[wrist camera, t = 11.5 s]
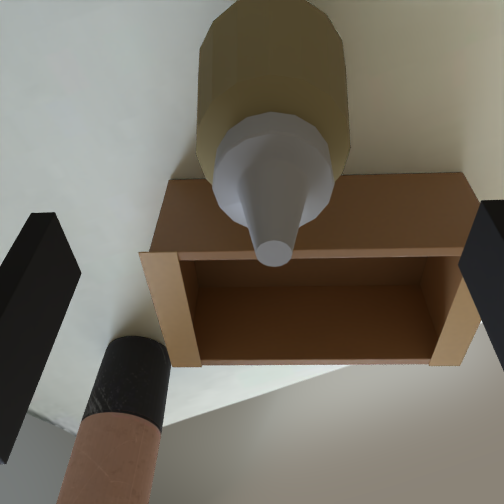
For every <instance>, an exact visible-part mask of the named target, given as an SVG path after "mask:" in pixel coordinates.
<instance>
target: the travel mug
mask: <svg viewBox="0 0 504 504" xmlns="http://www.w3.org/2000/svg"><path fill="white" fill-rule="evenodd" d="M170 369H171V361H170V358H169V354H168V351H167V348H166V347H164V346H163V345H162V344H160V343H158V342H156V341H154V340H152V339H148V338H144V337H137V336H128V337H122V338H118V339H116V340H114V341H113V342H111V343H110V344H109V346H108V347H107V349H106V352H105V355H104V357H103V360H102V363H101V366H100V369H99V372H98V375H97V377H96V380H95V383H94V386H93V389H92V392H91V395H90V398H89V400H88V403H87V406H86V409H85V412H84V415H83V418H82V421H81V424H80V427H79V430H78V433H77V437H76V440H75V443H74V447H73V450H72V454H71V457H70V460H69V464H68V467H67V470H66V473H65V477H64V480H63V483H62V487H61V490H60V493H59V497H58V500H57V503H56V504H148V503H149V498H150V492H151V487H152V482H153V476H154V470H155V465H156V460H157V455H158V449H159V444H160V438H161V432H162V425H163V418H164V411H165V404H166V397H167V390H168V383H169V376H170Z"/></svg>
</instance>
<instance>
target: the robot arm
mask: <svg viewBox="0 0 504 504" xmlns="http://www.w3.org/2000/svg"><path fill="white" fill-rule="evenodd" d="M458 267H459V269H460V272H461V274H462V276H463V278H464V281H465V283H466V285H467V288H468V290H469V292H470V295H471V297H472V299H473V302H474V304H475V306H476V308H477V311H478V313H479V315H480V318H481V320H482V322H483V325H484V327H485V329H486V331H487V334H488V336H489V338H490V341H491V343H492V345H493V348H494V350H495V352H496V354H497V357H498V359H499V361H500V363H501V366H502V368H503V370H504V200H481V203H480V206H479V208H478V211H477V214H476V216H475V219H474V222H473V225H472V227H471V230H470V233H469V235H468V238H467V241H466V244H465V246H464V249H463V252H462V254H461V257H460V260H459V263H458ZM80 276H81V271H80V268H79V266H78V264H77V261H76V259H75V257H74V255H73V252H72V250H71V248H70V245H69V243H68V241H67V239H66V236H65V234H64V232H63V229H62V227H61V225H60V223H59V220H58V218H57V216H56V213H55V212H50V213H31V214H30V216H29V218H28V219H27V221H26V223H25V225H24V226H23V228H22V230H21V231H20V233H19V235H18V237H17V238H16V240H15V242H14V243H13V245H12V247H11V249H10V250H9V252H8V254H7V256H6V257H5V259H4V261H3V262H2V264H1V266H0V464H6V463H7V461H8V458H9V456H10V453H11V451H12V448H13V446H14V443H15V440H16V438H17V435H18V433H19V430H20V428H21V425H22V423H23V420H24V418H25V415H26V413H27V410H28V408H29V405H30V402H31V400H32V397H33V395H34V392H35V390H36V387H37V385H38V382H39V380H40V377H41V375H42V372H43V370H44V367H45V365H46V362H47V359H48V357H49V354H50V352H51V349H52V347H53V344H54V342H55V339H56V337H57V334H58V332H59V329H60V327H61V324H62V321H63V319H64V316H65V314H66V311H67V309H68V306H69V304H70V301H71V299H72V296H73V294H74V291H75V289H76V286H77V284H78V281H79V278H80Z"/></svg>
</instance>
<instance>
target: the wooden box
mask: <svg viewBox="0 0 504 504" xmlns="http://www.w3.org/2000/svg"><path fill="white" fill-rule="evenodd" d="M479 206H480V203H479V201H478V199H477V197H476V195H475V194H474V192H473V190H472V188H471V186H470V185H469V183H468V181H467V179H466V177H465V176H464V174H463V173H462V172H456V173H417V174H378V175H340V177H339V178H338V179H337V180H336V181H335V185H334V188H333V191H332V194H331V198H330V201H329V203H328V205H327V206H326V207H325V208H324V209H323V210H322V211H321V212H320V214H319V215H318V216H317V217H316V218H315V219H313V220H312V221H310V222H308V223H306V224H304V225H302V226H300V227H299V229H298V233H297V237H296V241H295V245H294V249H293V252H292V256H291V259H290V260H289V261H288V262H287V263H286V264H284V265H282V266H277V267H271V266H266V265H264V264H262V263H261V262H260V261H259V260H258V259H257V257H256V254H255V250H254V247H253V243H252V240H251V236H250V233H249V229H248V228H247V227H245V226H243V225H241V224H239V223H237V222H234V221H233V220H232V219H231V218H230V217H229V216H228V215H227V214H226V213H225V212H224V211H223V210H222V209H221V208H220V207H219V205H218V202H217V200H216V197H215V195H214V192H213V189H212V185H211V184H210V183H209V181H208V180H207V179H183V180H169V182H168V185H167V189H166V193H165V196H164V200H163V203H162V207H161V211H160V214H159V218H158V221H157V225H156V229H155V232H154V236H153V239H152V243H151V247H150V250H149V252H139V257H140V260H141V263H142V267H143V270H144V273H145V277H146V280H147V283H148V287H149V290H150V294H151V297H152V300H153V304H154V307H155V310H156V314H157V317H158V321H159V324H160V327H161V331H162V334H163V337H164V341H165V344H166V347H167V351H168V354H169V358H170V361H171V364H172V367H202V365H364V364H365V365H370V364H373V365H374V364H429V366H460V364H461V362H462V360H463V358H464V356H465V354H466V352H467V349H468V348H469V345H470V343H471V341H472V339H473V337H474V335H475V332H476V330H477V328H478V326H479V324H480V322H481V318H480V315H479V313H478V311H477V308H476V306H475V304H474V302H473V299H472V297H471V295H470V292H469V290H468V288H467V285H466V283H465V281H464V278H463V276H462V274H461V272H460V269H459V267H458V263H459V260H460V257H461V254H462V252H463V249H464V246H465V244H466V241H467V238H468V235H469V233H470V230H471V227H472V225H473V222H474V219H475V216H476V214H477V211H478V208H479Z"/></svg>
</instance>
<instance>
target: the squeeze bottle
mask: <svg viewBox="0 0 504 504" xmlns="http://www.w3.org/2000/svg"><path fill="white" fill-rule="evenodd" d="M350 148H351V147H350V130H349V114H348V97H347V81H346V67H345V59H344V51H343V43H342V40H341V38H340V36H339V35H338V33H337V31H336V30H335V28H334V26H333V25H332V23H331V21H330V20H329V18H328V16H327V15H326V14H325V13H323V12H322V11H321V10H319V9H318V8H316V7H315V6H313V5H312V4H310V3H309V2H307V1H306V0H238V1H237V2H235V3H234V4H233V5H232V6H231V7H229V8H228V9H227V10H226V11H225V12H224V13H222V14H221V15H220V16H219V17H218V18H217V19H215V20H214V21H213V23H212V25H211V27H210V29H209V31H208V33H207V35H206V37H205V39H204V41H203V43H202V45H201V47H200V55H199V73H198V103H197V136H196V156H197V158H198V161H199V163H200V166H201V168H202V171H203V173H204V176H205V178H206V179H207V180H208V181H209V183H210V184H211V185H212V189H213V192H214V195H215V197H216V200H217V202H218V205H219V207H220V208H221V209H222V210H223V211H224V212H225V213H226V214H227V215H228V216H229V217H230V218H231V219H232V220H233V221H234V222H237V223H239V224H241V225H243V226H245V227H247V228H248V229H249V233H250V236H251V240H252V243H253V247H254V250H255V254H256V257H257V259H258V260H259V261H260V262H261V263H262V264H264V265H266V266H271V267H277V266H282V265H284V264H286V263H287V262H288V261H289V260H290V259H291V256H292V252H293V249H294V245H295V241H296V237H297V233H298V229H299V227H300V226H302V225H304V224H306V223H308V222H310V221H312V220H313V219H315V218H316V217H317V216H318V215H319V214H320V212H321V211H322V210H323V209H324V208H325V207H326V206H327V205H328V203H329V201H330V198H331V194H332V191H333V188H334V185H335V181H336V180H337V179H338V178H339V177H340V175H341V174H342V173H343V170H344V167H345V163H346V160H347V157H348V154H349V151H350Z"/></svg>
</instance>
